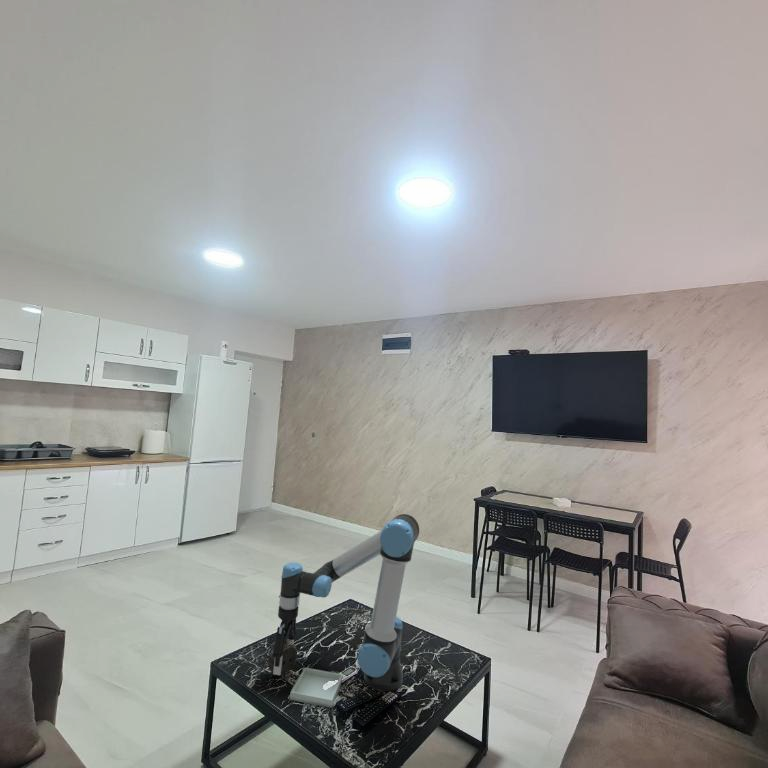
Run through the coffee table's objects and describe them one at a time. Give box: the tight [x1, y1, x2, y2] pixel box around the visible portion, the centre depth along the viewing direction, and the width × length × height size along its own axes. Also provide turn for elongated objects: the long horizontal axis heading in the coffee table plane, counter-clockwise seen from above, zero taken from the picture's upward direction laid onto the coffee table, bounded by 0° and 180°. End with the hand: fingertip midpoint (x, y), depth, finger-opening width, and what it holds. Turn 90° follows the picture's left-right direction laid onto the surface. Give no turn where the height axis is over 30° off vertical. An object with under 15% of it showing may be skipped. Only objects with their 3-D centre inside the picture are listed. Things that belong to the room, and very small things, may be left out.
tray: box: [289, 667, 344, 709], centre depth 152 cm, size 15×15×2 cm
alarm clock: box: [267, 636, 298, 679], centre depth 159 cm, size 11×5×16 cm, turn 137°
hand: (282, 665), depth 159 cm, fingers closed on alarm clock, 11 cm apart
